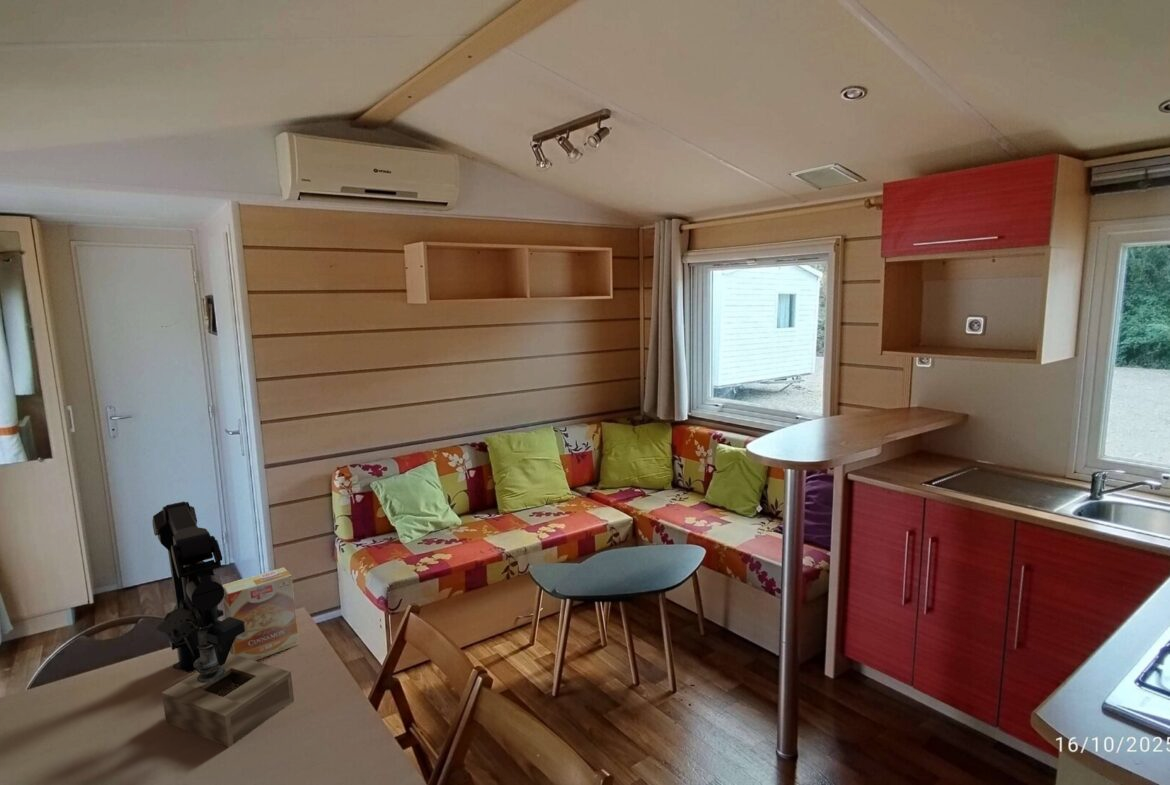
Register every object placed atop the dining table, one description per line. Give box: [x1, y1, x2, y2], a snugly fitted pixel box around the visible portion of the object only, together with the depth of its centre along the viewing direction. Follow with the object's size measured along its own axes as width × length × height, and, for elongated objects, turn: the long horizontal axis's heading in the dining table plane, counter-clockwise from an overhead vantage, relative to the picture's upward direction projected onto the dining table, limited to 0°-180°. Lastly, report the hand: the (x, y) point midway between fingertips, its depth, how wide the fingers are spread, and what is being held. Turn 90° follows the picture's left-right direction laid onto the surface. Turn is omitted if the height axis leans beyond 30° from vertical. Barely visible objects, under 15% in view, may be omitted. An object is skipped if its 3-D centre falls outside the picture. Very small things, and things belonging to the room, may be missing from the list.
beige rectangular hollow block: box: [161, 652, 295, 748], centre depth 140 cm, size 20×16×7 cm
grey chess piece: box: [193, 628, 225, 683], centre depth 137 cm, size 6×6×12 cm
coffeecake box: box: [221, 567, 300, 661], centre depth 163 cm, size 15×7×20 cm, turn 131°
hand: (209, 660), depth 137 cm, fingers closed on grey chess piece, 8 cm apart
